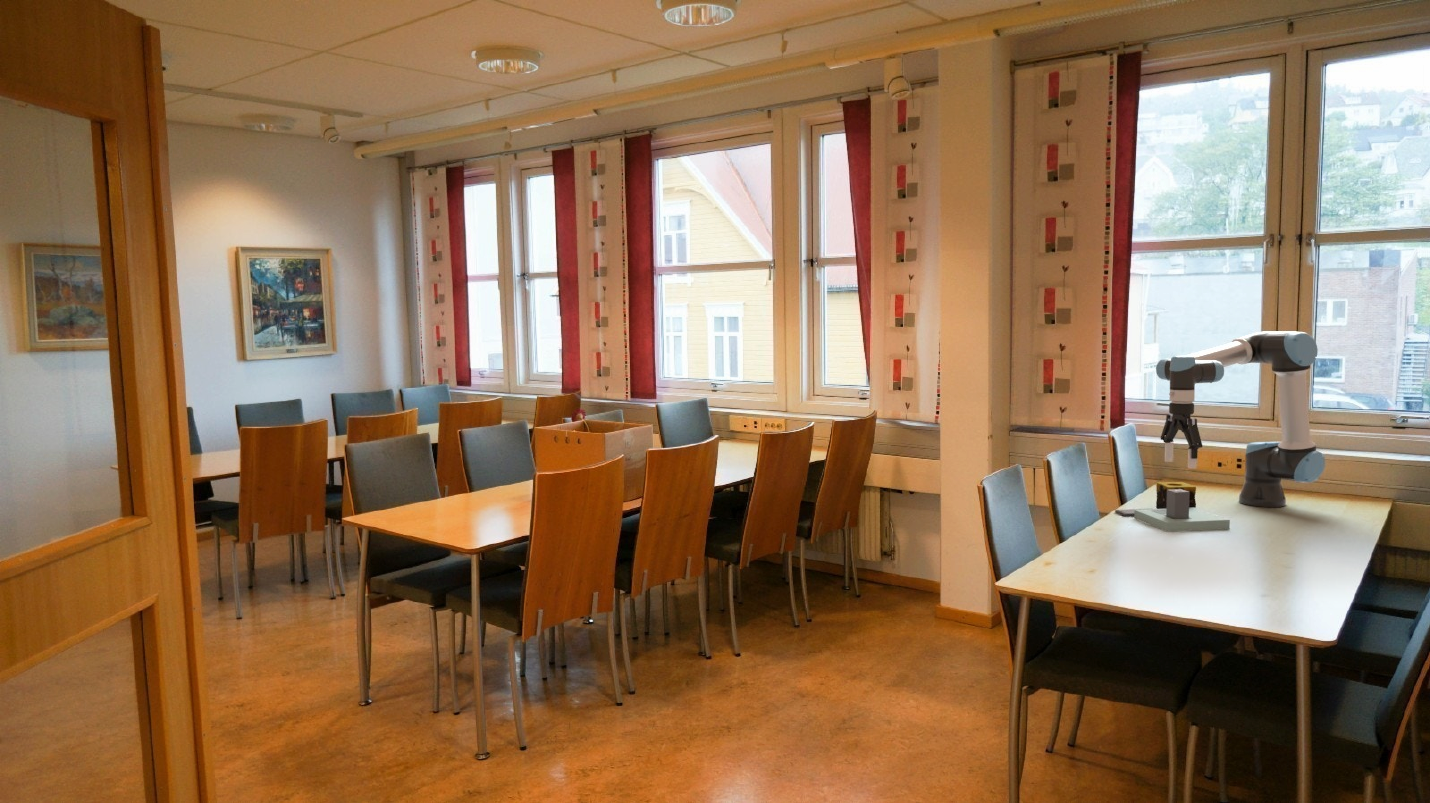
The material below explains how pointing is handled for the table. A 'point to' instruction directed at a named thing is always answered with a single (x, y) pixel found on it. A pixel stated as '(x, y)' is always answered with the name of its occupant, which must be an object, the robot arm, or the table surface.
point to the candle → (1165, 486)
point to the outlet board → (1182, 520)
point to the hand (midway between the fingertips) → (1180, 464)
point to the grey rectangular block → (1177, 504)
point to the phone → (1127, 512)
